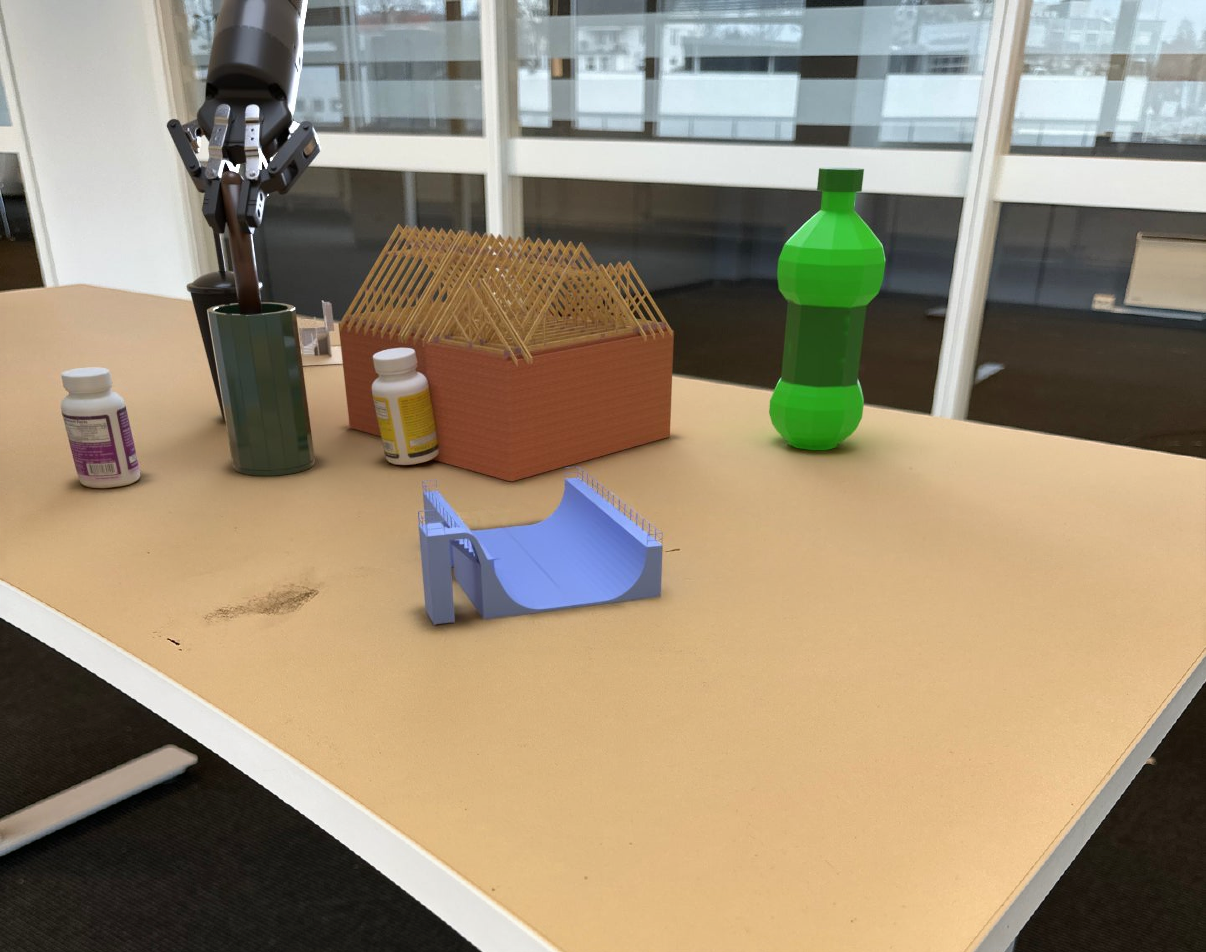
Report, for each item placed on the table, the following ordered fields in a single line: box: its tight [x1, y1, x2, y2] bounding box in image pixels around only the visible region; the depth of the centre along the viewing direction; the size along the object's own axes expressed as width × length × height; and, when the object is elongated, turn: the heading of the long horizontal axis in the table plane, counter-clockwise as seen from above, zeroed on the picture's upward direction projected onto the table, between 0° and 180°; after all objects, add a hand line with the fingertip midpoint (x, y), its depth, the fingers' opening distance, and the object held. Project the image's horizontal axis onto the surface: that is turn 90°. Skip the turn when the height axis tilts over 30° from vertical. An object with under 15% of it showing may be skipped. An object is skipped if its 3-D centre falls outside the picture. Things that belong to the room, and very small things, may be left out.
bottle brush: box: [221, 171, 263, 314], centre depth 100 cm, size 4×4×20 cm
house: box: [338, 223, 675, 482], centre depth 114 cm, size 28×23×19 cm
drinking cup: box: [186, 230, 264, 422], centre depth 119 cm, size 8×8×20 cm
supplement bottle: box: [372, 348, 439, 466], centre depth 107 cm, size 5×5×10 cm
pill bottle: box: [60, 366, 141, 489], centre depth 100 cm, size 5×5×10 cm
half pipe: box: [417, 466, 664, 626], centre depth 83 cm, size 18×16×7 cm
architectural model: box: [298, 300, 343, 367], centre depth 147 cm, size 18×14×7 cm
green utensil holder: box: [207, 301, 315, 477], centre depth 104 cm, size 8×8×14 cm
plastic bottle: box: [768, 167, 886, 451], centre depth 110 cm, size 10×10×25 cm
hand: (230, 226), depth 95 cm, fingers closed on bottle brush, 2 cm apart
